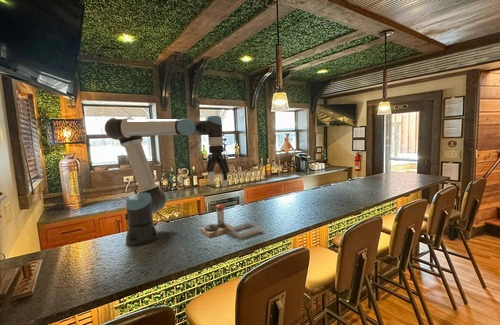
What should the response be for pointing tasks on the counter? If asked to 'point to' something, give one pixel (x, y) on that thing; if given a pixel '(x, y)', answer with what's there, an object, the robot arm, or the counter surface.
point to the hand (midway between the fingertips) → (218, 184)
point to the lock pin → (220, 215)
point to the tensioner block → (214, 230)
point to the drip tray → (241, 235)
